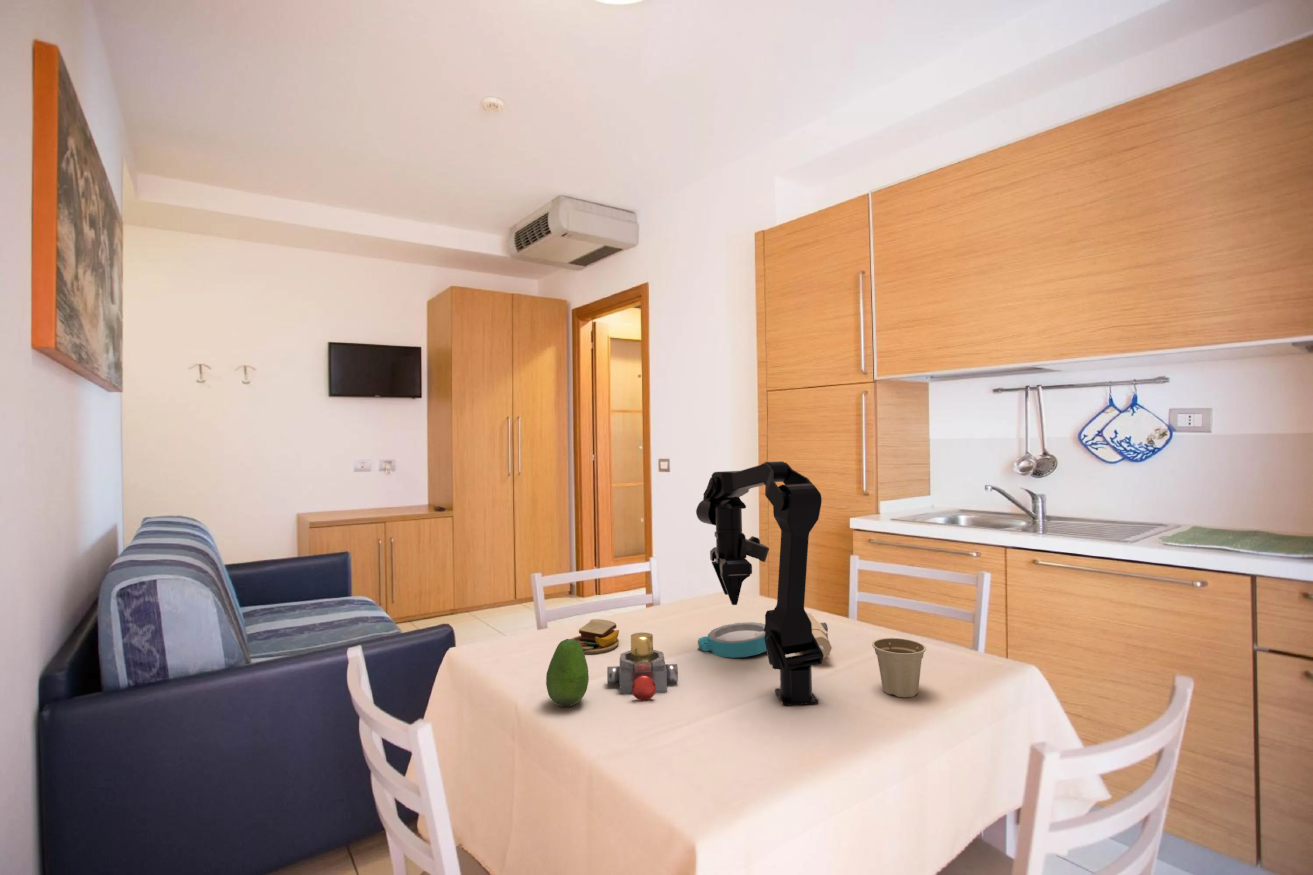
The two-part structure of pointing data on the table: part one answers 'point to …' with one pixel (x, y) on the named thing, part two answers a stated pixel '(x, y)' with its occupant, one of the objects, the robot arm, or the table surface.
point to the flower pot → (899, 665)
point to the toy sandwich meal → (598, 636)
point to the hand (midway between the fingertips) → (730, 599)
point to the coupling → (642, 647)
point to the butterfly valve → (752, 639)
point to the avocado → (567, 674)
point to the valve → (642, 675)
